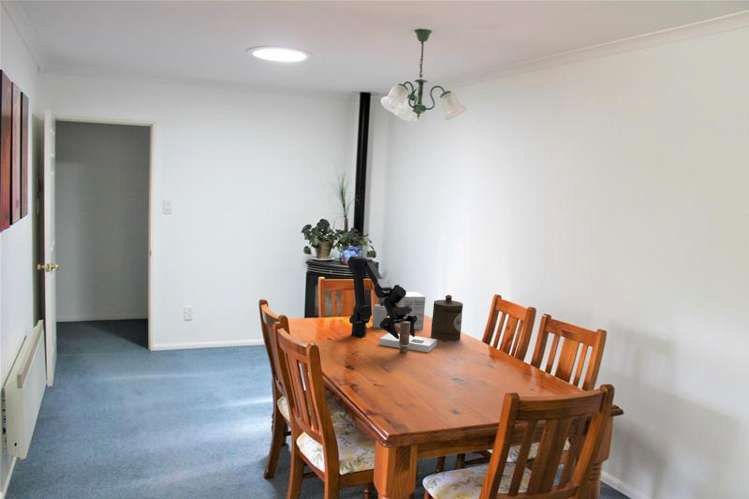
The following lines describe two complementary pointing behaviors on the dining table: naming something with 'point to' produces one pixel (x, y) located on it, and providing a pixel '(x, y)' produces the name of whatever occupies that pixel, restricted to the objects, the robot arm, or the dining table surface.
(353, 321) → the robot arm
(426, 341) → the grey board
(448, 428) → the dining table surface
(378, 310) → the can
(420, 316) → the supplement box
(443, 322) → the wooden container
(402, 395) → the dining table surface
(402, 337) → the walnut peg
